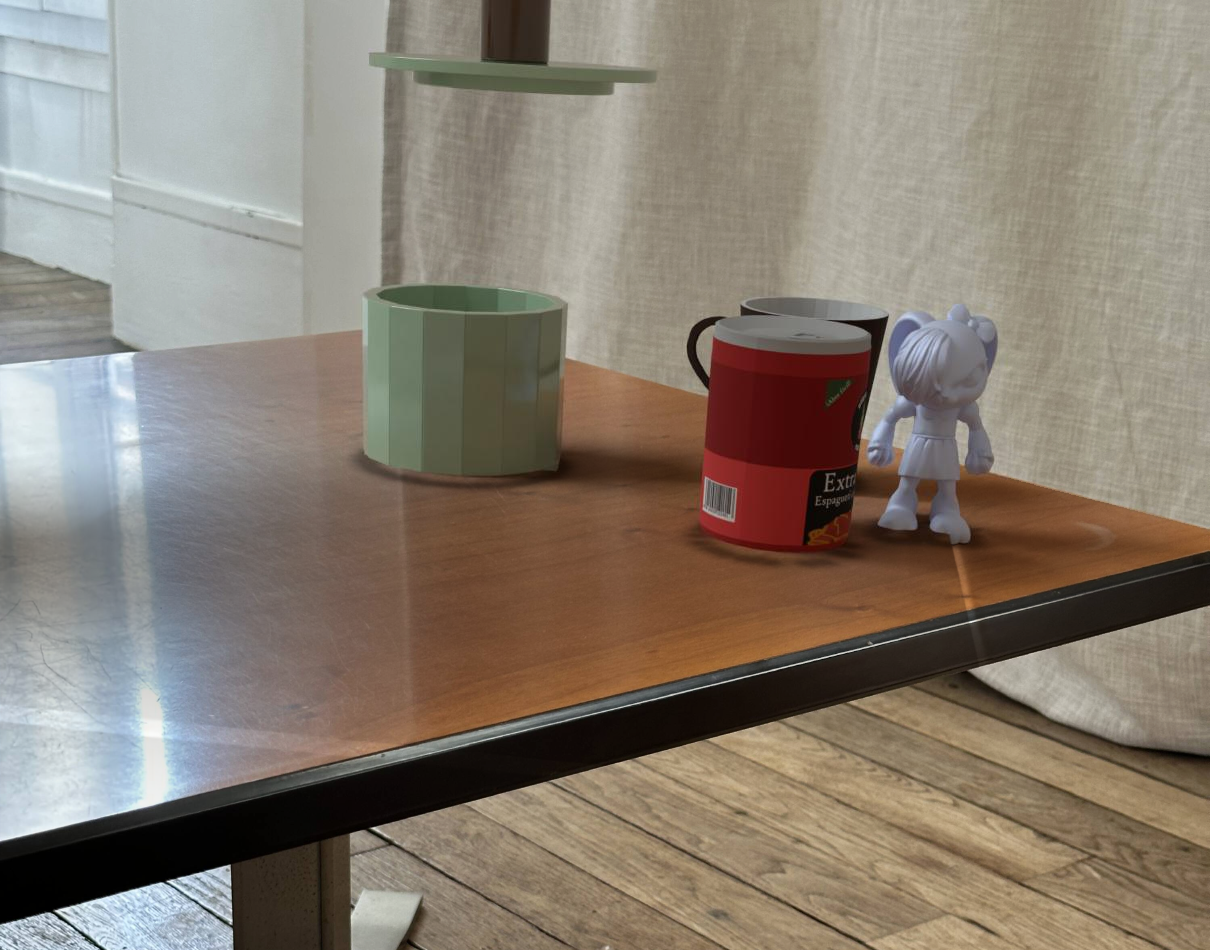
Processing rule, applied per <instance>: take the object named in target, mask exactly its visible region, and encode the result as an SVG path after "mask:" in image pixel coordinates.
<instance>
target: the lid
mask: <svg viewBox="0 0 1210 950" xmlns="http://www.w3.org/2000/svg"><path fill="white" fill-rule="evenodd" d="M551 17H552V0H480V37H479V39H480V41H479V56H475V55H474V56H472V55H455V54H454V55H453V54H433V53H415V52H414V53H412V52H381V51H380V52H379V51H378V52H375V51H374V52H368V53H367V65H368V66H370V67H374V68H379V69H380V68H381V69H389V70H390V69H391V70H400V71H412V73H411V74H412V76H411V77H412V78H411V79H412V83H413V84H415V85H421V86H429V87H439V88H450V89H461V90H472V91H473V90H474V91H476V90H477V91H487V92H488V91H489V92H505V93H520V94H521V93H522V94H540V95H542V94H543V95H561V96H562V95H564V96H565V95H566V96H613V95H614V94H615V85H616V84H621V83H622V84H657V83H659V79H660V71H659V69H655V68H648V67H640V66H639V67H638V66H628V65H625V66H624V65H615V64H614V65H613V64H603V63H602V64H600V63H587V62H586V63H585V62H573V61H572V62H571V61H557V60H550V48H551V47H550V46H551V24H552V23H551V20H552V18H551Z"/></svg>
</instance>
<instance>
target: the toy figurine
mask: <svg viewBox="0 0 1210 950" xmlns="http://www.w3.org/2000/svg"><path fill="white" fill-rule="evenodd" d="M887 343H888V344H887V361H888V369H889V375H890V378H891V383H892V385H893V388H894V390H895V392H896V394H897V397H896V398H895V400H894V402H893V406H891V407H889V409H888V410H887V411H886V413H885V414H884V416H883V417H882V418H881V419H880V421H879V422H878V423H877V425H876V426H875V428H874V429H873V432H872V433H871V435H870V438H869V440H868V444H867V446H866V449H865V454H866V455H865V456H866V458H867V462H868V463H869V465H871V466H876V467H877V468H887V467H888V466H890V465H891V464H892V463H894V461H895V458H896V454H895V450H894V448H893V444H894V443H893V442H894V440H895V439H894V438H895V433H896V431H895V430H896V425H897V423H898V422H899V421H900V420H901V419H908V418H912V417H913V425H912V430H911V434H910V435H909V438H908V440H907V442H906V445H905V448H904V450H903V454H902V458H901V460H900V464H899V467H898V471H897V475H898V476H899V477H900V476H901V477H900V480H899V484H898V487H897V489H896V490H895V491H894V492H893V494H892V495H891V497H890V498H889V501H888V503H887V505H886V509H885V511H884V513H883V514H882V515H881V517H880V518H879V520H878V521H877V525H878V526H879V527H882V528H884V529H885V528H886V529H890V530H894V531H915V530H917V529H918V520H917V512H918V505H919V504H918V501H919V499H918V494H917V492H916V490H917V487H918V485H919V484H920V482H921V480H931V481H936V485H937V489H938V491H937V493H935V495H934V497H933V499H932V501H931V505H930V509H929V510H930V511H929V517H928V521H929V522H930V523H929V528H930V530H931V531H932V532H935V533H940V534H947V535H949V539H950V544H951V545H957V544H968V543H969V542H970V540H971V529H970V527H969V525H968V523H967V521H966V520H965V519H964V518H963V517H962V516H961V511H960V505H959V501H958V498H957V495H956V494H957V493H956V487H957V486H956V485H957V481H960V479H961V465H960V458H959V447H958V442H957V439H956V435H957V434H956V433H957V425H958V421H959V422H961V423H964V424H966V425H967V428H968V439H967V453H966V456H965V458H964V469H965V470H966V472H967V473H968V474H969V475H974V476H980V475H987V474H989V473H990V471H991V470H992V467H993V466H994V462H995V455H994V453H993V451H992V444H991V441H990V438H989V436H988V433H987V431H986V429H985V427H984V425H983V422H982V417H981V415H980V406H979V403H978V402H977V400H978V399H979V398H980V397H981V396H982V395H983V393H984V392H985V390H986V387H987V384H988V380H989V376H990V375H991V372H992V369H993V367H994V364H995V360H996V357H997V353H998V348H999V347H998V346H999V335H998V329H997V326H996V324H995V323H994V322H993V319H991V318H989V317H987V316H985V315H981V314H980V315H979V314H978V315H976V314H975V315H972V314H971V313H970V310H969V309H968V308H967V306H966V305H965V304H964V303H955V304H954V305H953V306H952V307H951V308H950V309H949V310H948V312H947V314H946V319H935V317H934V316H933V315H931V314H930V313H927V312H926V311H922V310H910V311H907V312H905V313H903V314H902V315H901V316H900V317H898V319H897V320H896V322H895V323H894V325H893V327H892V329H891V332H890V335H889V338H888V342H887Z"/></svg>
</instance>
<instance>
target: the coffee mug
mask: <svg viewBox="0 0 1210 950" xmlns="http://www.w3.org/2000/svg"><path fill="white" fill-rule="evenodd" d="M739 303H740V304H739V305H740V316H752V315H768V316H789V317H801V318H811V319H819V320H826V321H833V322H838V323H843V324H848V325H852V326H856V327H858V328H861V329H864V330H865V331H867V332H869V333H870V334H871V355H870V364H869V376H868V384H867V392H866V401H865V409H864V417H863V425H862V431H863V429H864V426H865V421H866V416H867V411H868V408H869V404H870V399H871V395H872V391H873V386H874V383H875V377H876V373H877V370H878V364H879V360H880V356H881V351H882V348H883V344H884V338H885V335H886V330H887V326H888V322H889V318H890V312H889V311H887V310H886V309H884V308H881V307H878V306H874V305H870V304H866V303H860V302H856V301H855V302H853V301H848V300H847V301H846V300H839V299H830V298H821V297H820V298H819V297H804V296H761V297H752V298H751V297H750V298H746V299H742V300H741V301H740V302H739ZM724 318H728V316H724V315H723V316H722V315H714V316H709V317H706V318H703V319H700V320H699V321H698V322H696V323H695V324H694V325H693V326H692V328H691V329H690V331H689V335H688V338H687V341H686V355H687V360H688V361H689V364H690V366H691V368H692V370H693V371H694V373H695V375H696V376H697V377H698V380H699V381H700V382H701V383H702V385H703V386H704V387H705V389H706V390H707V391H708V392H709V379H710V375H708V374H707V371H706V369H704V367H703V365H702V364H701V362H700V358H699V357H698V354H697V353H698V352H697V345H698V344H697V343H698V340H699V337H700V336H701V334H702V333H703V332H704V331H705V330H706V329H708V328H709V327H712V326H715V324H716V322H717V321H719V320H721V319H724Z"/></svg>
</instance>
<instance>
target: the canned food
mask: <svg viewBox="0 0 1210 950" xmlns="http://www.w3.org/2000/svg"><path fill="white" fill-rule="evenodd" d="M711 346H712V347H711V355H710V368H709V378H710V379H709V391H708V392H707V393H708V395H707V406H706V407H707V408H706V422H705V432H704V434H705V435H704V447H703V460H702V461H703V462H702V475H701V489H700V500H699V513H698V514H699V515H698V522H699V526H700V529H701V530H702V532H703V533H705V534H706V535H707V536H708V537H711V538H713V539H716V540H717V541H721V542H723V543H727V544H730V545H734V546H738V547H743V548H748V549H752V550H753V549H754V550H760V551H768V552H781V553H811V552H812V553H813V552H823V551H827V550H832V549H836V548H839V547H841V546H842V545H844V544H845V543H846V541H847V540H848V537H849V535H850V531H851V523H852V516H853V508H854V498H855V490H856V484H857V483H856V481H857V474H858V473H857V472H858V467H859V466H858V465H859V457H860V448H861V441H862V440H861V439H862V434H863V430H862V425H863V417H864V409H865V401H866V392H867V384H868V376H869V364H870V355H871V334H870V333H869V332H867V331H865V330H864V329H861V328H858V327H856V326H852V325H848V324H843V323H838V322H833V321H826V320H819V319H811V318H801V317H789V316H768V315H752V316H741V315H736V316H730V317H728V316H727V318H724V319H721V320H719V321H717V322H716V324H715V325H714V331H713V334H712V345H711ZM863 426H864V425H863Z"/></svg>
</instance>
